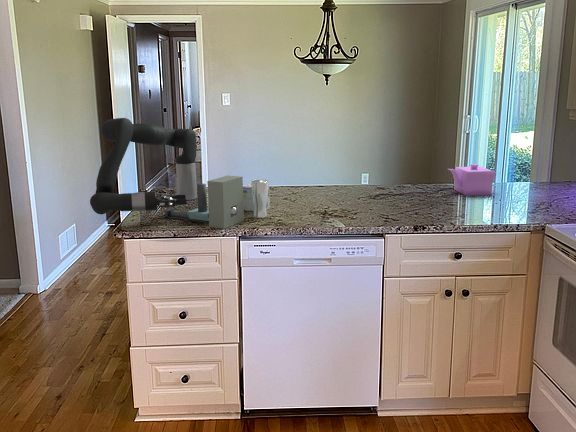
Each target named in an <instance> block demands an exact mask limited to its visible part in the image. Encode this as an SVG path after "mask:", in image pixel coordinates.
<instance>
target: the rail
mask: <svg viewBox="0 0 576 432" xmlns="http://www.w3.org/2000/svg"><path fill="white" fill-rule="evenodd" d="M164 217H165V218H167V219H175V220H182V221H190V222H191V221H192V222H198V223H206V224H209V221H204V220H197V219H189V215H188V211H182V210H176V208H175V207H170V208H167V209H165V210H164Z"/></svg>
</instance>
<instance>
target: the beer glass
mask: <svg viewBox="0 0 576 432" xmlns="http://www.w3.org/2000/svg"><path fill="white" fill-rule="evenodd" d="M268 182H269V181H268V180H267V179H253V180H251V184H252V185H251V194H252V200H253V205H254V211H253V213H252V217H253V218H256V219H264V218H267V217H268V210H267V200H268V185H269V183H268Z"/></svg>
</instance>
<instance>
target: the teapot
mask: <svg viewBox="0 0 576 432" xmlns="http://www.w3.org/2000/svg"><path fill="white" fill-rule="evenodd" d="M447 170H448V171H450V172H451V174H452V177H453V181H454V183H453V186H454V187H453V188H454V189H453V190H454V191H456V192H458V193H460V194H461V195H464V196H470V197H471V196H491V195H493V186H494V185H493V184H494V179H495V178H496V176H497V172H496V171H495V170H492V169H488V168H486V167H483V166H479V164H477V163H472V164H470V166H456V167H455V169H454V168H447Z"/></svg>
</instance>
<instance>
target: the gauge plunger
mask: <svg viewBox="0 0 576 432" xmlns="http://www.w3.org/2000/svg"><path fill="white" fill-rule="evenodd" d="M231 214H237V208H233V207H231Z"/></svg>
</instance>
